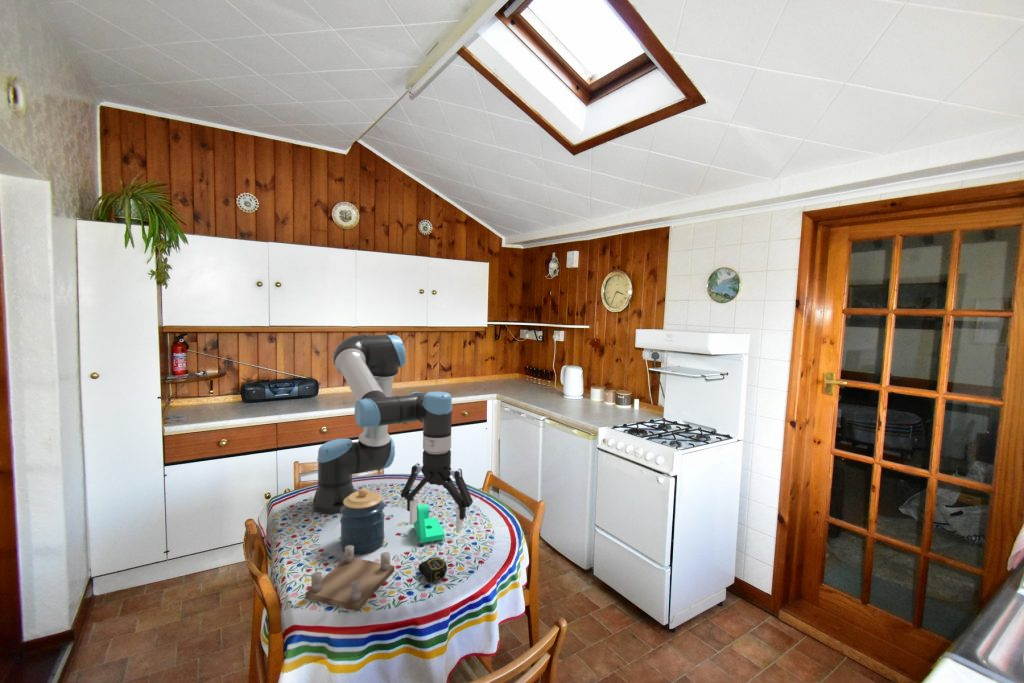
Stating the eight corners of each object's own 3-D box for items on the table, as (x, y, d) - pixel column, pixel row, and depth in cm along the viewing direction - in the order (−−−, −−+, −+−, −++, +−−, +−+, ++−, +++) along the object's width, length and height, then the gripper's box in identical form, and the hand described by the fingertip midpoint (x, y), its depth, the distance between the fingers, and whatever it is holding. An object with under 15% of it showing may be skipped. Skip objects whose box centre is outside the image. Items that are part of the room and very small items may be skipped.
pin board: (305, 598, 110) (305, 577, 110) (347, 561, 127) (347, 543, 126) (357, 611, 107) (357, 589, 106) (394, 571, 123) (394, 552, 123)
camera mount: (445, 541, 139) (445, 510, 139) (421, 546, 136) (421, 514, 136) (435, 524, 150) (436, 495, 150) (413, 528, 147) (413, 498, 147)
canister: (372, 529, 146) (372, 477, 144) (392, 544, 136) (392, 489, 135) (333, 542, 136) (333, 487, 135) (351, 560, 127) (351, 501, 126)
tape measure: (417, 574, 122) (417, 561, 122) (440, 566, 126) (440, 553, 126) (427, 587, 117) (427, 574, 116) (450, 579, 121) (451, 566, 120)
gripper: (388, 449, 118) (387, 525, 120) (475, 459, 112) (474, 540, 113) (402, 441, 126) (401, 513, 127) (485, 450, 119) (483, 526, 120)
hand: (435, 526), depth 120 cm, fingers open, 13 cm apart
